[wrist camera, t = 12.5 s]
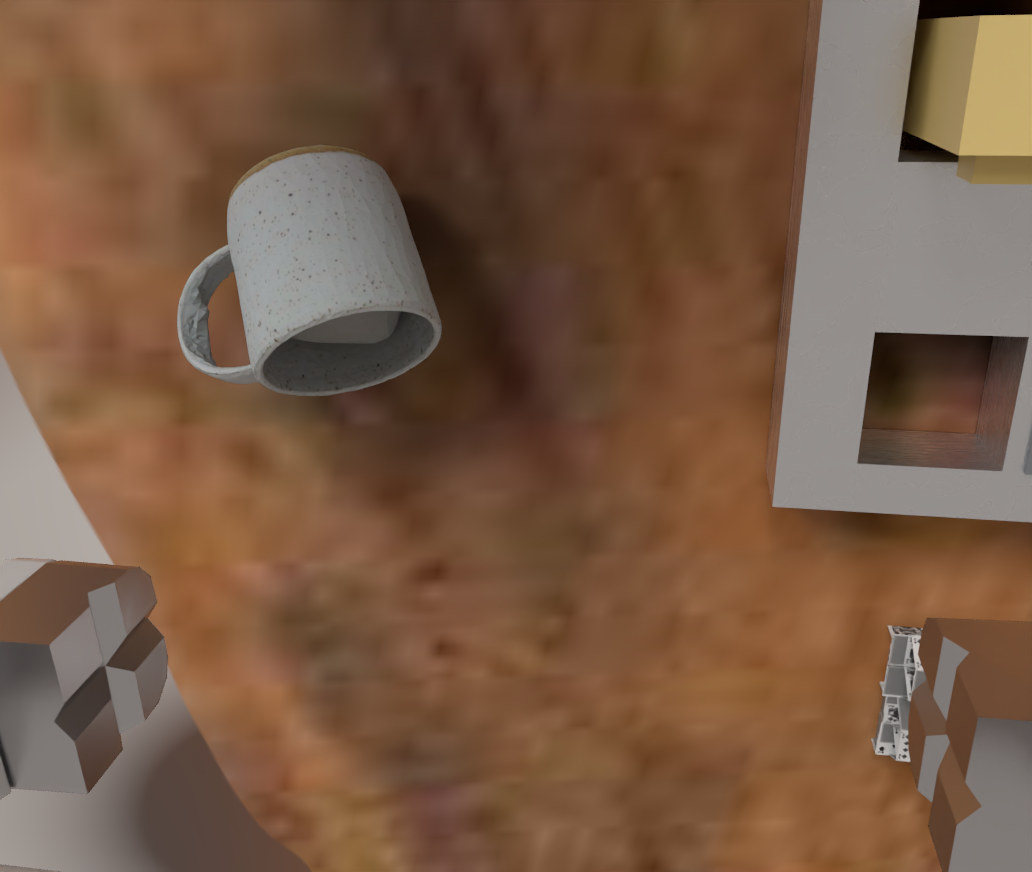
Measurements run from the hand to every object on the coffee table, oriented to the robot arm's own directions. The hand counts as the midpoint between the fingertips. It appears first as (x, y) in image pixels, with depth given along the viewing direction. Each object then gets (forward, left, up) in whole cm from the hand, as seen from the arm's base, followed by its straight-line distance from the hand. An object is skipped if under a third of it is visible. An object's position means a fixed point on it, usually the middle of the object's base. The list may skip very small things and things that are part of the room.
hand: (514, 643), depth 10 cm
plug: (-4, +12, -34) cm, 36 cm away
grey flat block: (+2, +12, -34) cm, 36 cm away
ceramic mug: (+4, -14, -34) cm, 37 cm away
